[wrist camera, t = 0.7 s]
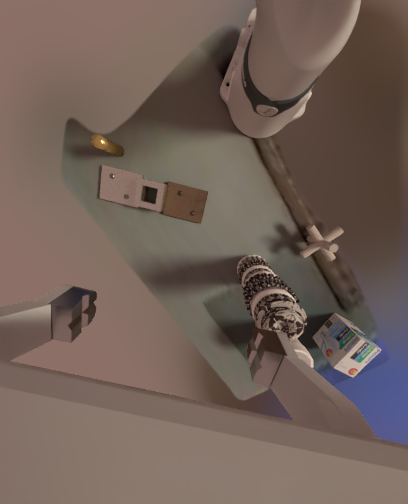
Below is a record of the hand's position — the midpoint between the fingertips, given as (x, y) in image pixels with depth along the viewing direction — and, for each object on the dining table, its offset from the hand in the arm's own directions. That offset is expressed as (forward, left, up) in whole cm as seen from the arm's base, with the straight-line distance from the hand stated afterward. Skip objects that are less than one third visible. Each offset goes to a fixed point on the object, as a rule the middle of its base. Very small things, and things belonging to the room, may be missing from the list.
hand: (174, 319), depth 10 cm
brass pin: (-11, -24, -42) cm, 49 cm away
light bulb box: (+23, +45, -42) cm, 66 cm away
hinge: (-3, -14, -42) cm, 44 cm away
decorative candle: (+10, +16, -42) cm, 46 cm away
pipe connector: (-2, +28, -42) cm, 50 cm away
